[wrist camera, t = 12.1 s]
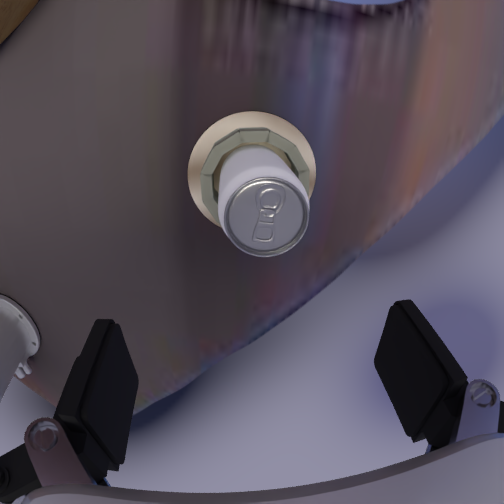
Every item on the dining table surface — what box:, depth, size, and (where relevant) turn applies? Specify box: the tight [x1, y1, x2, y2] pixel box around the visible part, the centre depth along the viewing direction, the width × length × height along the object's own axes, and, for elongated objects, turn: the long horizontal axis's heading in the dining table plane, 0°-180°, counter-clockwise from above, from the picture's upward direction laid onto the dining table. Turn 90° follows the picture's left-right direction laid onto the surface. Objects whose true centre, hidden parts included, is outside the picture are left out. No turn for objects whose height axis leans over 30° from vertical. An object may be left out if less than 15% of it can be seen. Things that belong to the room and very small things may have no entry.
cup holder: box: [188, 111, 316, 228], centre depth 30 cm, size 13×13×4 cm
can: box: [218, 145, 309, 257], centre depth 26 cm, size 6×6×12 cm
